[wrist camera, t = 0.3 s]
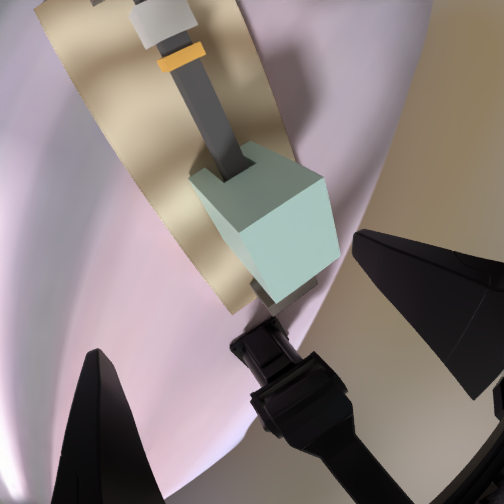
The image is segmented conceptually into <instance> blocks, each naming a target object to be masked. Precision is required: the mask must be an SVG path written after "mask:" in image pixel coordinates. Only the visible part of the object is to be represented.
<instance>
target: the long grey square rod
mask: <svg viewBox="0 0 504 504" xmlns="http://www.w3.org/2000/svg"><path fill="white" fill-rule="evenodd" d="M133 1H134V3H135V6H134V7H133V9H132V11H131V13H130V15H129V18H130V20H131V22H132V24H133V26H134V28H135V30H136V32H137V34H138V36H139V38H140V40H141V42H142V44H143V45H144V47H145V49H146V50H147V49H148V48H150V47H152V46H154V45H156V46H157V48H158V50H159V52H160V54H161V56H162V58H161V59H159V60H157V63H158V65H159V67H160V69H161V71H162V72H170V74H171V76H172V78H173V80H174V82H175V84H176V86H177V88H178V90H179V92H180V94H181V96H182V98H183V100H184V102H185V104H186V106H187V108H188V110H189V112H190V114H191V116H192V118H193V119H194V121H195V123H196V125H197V127H198V129H199V131H200V133H201V135H202V137H203V139H204V141H205V143H206V145H207V147H208V149H209V151H210V153H211V155H212V157H213V159H214V161H215V163H216V165H217V167H218V169H219V171H220V173H221V176H222V178H223V180H224V182H227V181H228V180H230V179H231V178H233V177H235V176H236V175H238V174H240V173H241V172H243V171H244V170H246V169H248V168H249V167H248V165H247V163H246V160H245V158H244V156H243V153H242V151H241V149H240V146H239V144H238V142H237V139H236V137H235V135H234V133H233V130H232V128H231V126H230V124H229V121H228V119H227V117H226V115H225V112H224V110H223V108H222V106H221V103H220V101H219V99H218V97H217V95H216V92H215V90H214V88H213V86H212V84H211V82H210V79H209V77H208V75H207V73H206V71H205V69H204V66H203V64H202V62H201V60H200V58H199V57H201V56H204V55H206V53H205V51H204V48H203V46H202V44H201V42H197V43H194V44H193V43H192V41H191V39H190V37H189V35H188V33H187V30H189V29H191V28H193V27H195V26H197V25H198V23H197V21H196V19H195V17H194V15H193V13H192V11H191V9H190V7H189V4H188V2H187V0H133Z"/></svg>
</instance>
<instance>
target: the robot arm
mask: <svg viewBox="0 0 504 504" xmlns="http://www.w3.org/2000/svg"><path fill="white" fill-rule="evenodd" d="M352 254H353V257H354V258H355V260H356V261H357V262H358V263H359V265H360V266H361V267H362V268H363V270H364V271H365V272H366V274H367V275H368V276H369V278H370V279H371V280H372V282H373V283H374V284H375V285H376V286H377V288H378V289H379V290H380V291H381V292H382V293H383V294H384V296H385V297H386V298H387V299H388V300H389V301H390V302H391V303H392V304H393V305H394V306H395V307H396V309H397V310H398V311H399V312H400V313H401V314H402V315H403V316H404V318H405V319H406V320H407V321H408V322H409V323H410V324H411V325H412V327H413V328H414V329H415V330H416V331H417V332H418V334H419V335H420V336H421V337H422V338H423V339H424V341H425V342H426V343H427V344H428V345H429V346H430V348H431V349H432V350H433V351H434V352H435V354H436V355H437V356H438V357H439V358H440V360H441V361H442V362H443V363H444V365H445V366H446V367H447V368H448V370H449V371H450V372H451V373H452V375H453V376H454V377H455V378H456V379H457V381H458V382H459V383H460V385H461V386H462V387H463V389H464V390H465V391H466V392H467V394H468V395H469V396H470V398H471V399H472V400H475V399H476V398H477V397H478V396H479V395H480V394H481V393H482V392H483V391H484V390H485V389H486V388H487V387H488V386H489V385H490V384H491V383H492V382H493V381H494V380H495V379H496V378H497V377H498V376H499V375H500V374H501V375H502V377H501V378H500V380H499V381H498V383H497V384H496V386H495V387H494V389H493V398H494V413H495V416H496V417H497V418H498V419H499V420H500V422H499V424H498V425H497V427H496V428H495V430H494V431H493V432H492V434H491V435H490V437H489V438H488V439H487V441H486V442H485V443H484V445H483V446H482V447H481V448H480V450H479V451H478V452H477V453H476V455H475V456H474V457H473V458H472V459H471V461H470V462H469V463H468V464H467V465H466V466H465V468H464V469H463V470H462V471H461V472H460V473H459V474H458V475H457V476H456V478H455V479H454V480H453V481H452V482H451V483H450V484H449V485H448V486H447V487H446V488H445V489H444V490H443V491H442V492H441V493H440V494H439V495H438V496H437V497H436V498H435V499H434V500H433V501H432V502H431V503H429V504H504V263H503V262H499V261H494V260H489V259H484V258H480V257H475V256H471V255H467V254H463V253H460V252H456V251H452V250H448V249H444V248H441V247H437V246H433V245H429V244H425V243H421V242H417V241H413V240H409V239H405V238H401V237H397V236H393V235H389V234H385V233H380V232H376V231H372V230H367V229H361V230H359V231H357V232H355V233H354V235H353V242H352ZM230 350H231V352H232V353H233V354H234V355H235V356H237V357H238V358H239V359H240V360H241V361H242V362H243V363H244V364H245V365H246V366H247V367H248V368H249V369H250V370H251V372H252V374H253V375H254V377H255V378H256V380H257V381H258V383H259V384H260V386H261V387H262V388H260V389H259V390H257V391H255V392H252V393H251V394H250V396H251V397H252V399H251V401H250V403H251V404H252V406H253V408H254V409H255V411H256V413H257V415H258V417H259V419H260V422H261V424H262V426H263V428H264V430H265V431H266V432H272V433H273V434H274V435H275V436H276V437H277V438H279V439H281V438H282V437H284V438H285V440H286V441H287V442H288V444H289V445H290V446H291V447H293V448H296V449H298V450H300V451H303V452H305V453H308V454H311V455H313V456H315V457H318V458H320V459H321V460H322V461H323V463H324V464H325V465H326V466H327V468H328V469H329V470H330V472H331V473H332V474H333V476H334V477H335V478H336V479H337V480H338V482H339V483H340V484H341V486H342V487H343V488H344V489H345V490H346V492H347V493H348V494H349V495H350V497H351V498H352V499H353V500H354V502H355V503H356V504H414V503H413V501H412V500H411V499H410V498H409V497H408V496H407V495H406V493H405V492H404V491H403V490H402V489H401V488H400V487H399V485H398V484H397V483H396V482H395V481H394V480H393V478H392V477H391V476H390V475H389V474H388V472H387V471H386V470H385V469H384V468H383V467H382V466H381V464H380V463H379V462H378V461H377V459H376V458H375V457H374V456H373V455H372V453H371V452H370V451H369V450H368V449H367V448H366V446H365V445H364V444H363V443H362V442H361V440H360V439H359V438H358V437H357V435H356V434H355V425H354V416H353V406H352V403H351V401H350V400H349V399H348V397H347V396H346V395H345V394H346V393H347V392H348V390H347V388H346V386H345V384H344V383H343V382H342V380H341V379H340V378H339V376H338V375H337V374H336V373H335V372H334V371H333V370H332V369H331V368H330V367H329V366H328V365H327V363H325V361H323V359H321V357H320V356H319V355H318V354H317V353H316V352H314V351H313V352H312V353H310V355H309V356H307V357H306V358H305V359H302V358H301V356H300V355H299V354H298V353H297V351H296V350H295V349H294V348H293V346H292V345H291V344H290V343H289V338H288V337H287V335H286V333H285V331H284V330H283V328H282V326H281V324H280V323H279V321H278V319H277V318H276V317H271V318H270V319H269V320H267V321H266V322H264V323H263V324H261V325H260V326H259V327H257V328H256V329H254V330H253V331H251V332H250V333H249V334H247V335H246V336H244V337H243V338H241V339H240V340H238V341H237V342H235V343H234V344H232V345H231V346H230ZM51 504H165V501H164V499H163V497H162V495H161V492H160V490H159V488H158V485H157V483H156V480H155V478H154V475H153V473H152V470H151V468H150V465H149V462H148V460H147V457H146V454H145V451H144V448H143V445H142V443H141V440H140V437H139V434H138V430H137V427H136V424H135V421H134V418H133V415H132V411H131V409H130V406H129V404H128V401H127V399H126V396H125V394H124V391H123V389H122V386H121V383H120V381H119V378H118V375H117V372H116V370H115V367H114V365H113V364H112V362H111V361H110V360H109V359H108V358H107V356H106V355H105V354H104V353H103V352H102V350H101V349H99V348H96V349H94V350H92V351H89V352H88V353H87V354H86V357H85V360H84V363H83V367H82V370H81V373H80V376H79V380H78V383H77V387H76V390H75V394H74V398H73V402H72V405H71V409H70V413H69V417H68V422H67V426H66V430H65V435H64V440H63V445H62V450H61V456H60V460H59V466H58V471H57V476H56V482H55V486H54V491H53V496H52V500H51Z"/></svg>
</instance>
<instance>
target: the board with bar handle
mask: <svg viewBox="0 0 504 504" xmlns="http://www.w3.org/2000/svg"><path fill="white" fill-rule="evenodd" d="M187 2H188V4H189V7H190V9H191V11H192V13H193V15H194V17H195V19H196V21H197V23H198V25H197V26H195V27H193V28H191V29H189V30H187V33H188V35H189V37H190V39H191V41H192V43H193V44H194V43H197V42H201V44H202V46H203V48H204V51H205V53H206V55H204V56H201V57H199V58H200V60H201V62H202V64H203V66H204V69H205V71H206V73H207V75H208V77H209V79H210V82H211V84H212V86H213V88H214V90H215V92H216V95H217V97H218V99H219V101H220V103H221V106H222V108H223V110H224V112H225V115H226V117H227V119H228V121H229V124H230V126H231V128H232V130H233V133H234V135H235V137H236V139H237V142H238V144H239V146H242V145H244V144H245V143H247V142H249V141H252V142H255V143H257V144H259V145H261V146H263V147H265V148H267V149H270V150H272V151H274V152H276V153H278V154H280V155H282V156H284V157H286V158H288V159H290V160H292V161H294V162H296V161H295V158H294V155H293V152H292V148H291V145H290V142H289V139H288V136H287V133H286V130H285V127H284V124H283V121H282V118H281V116H280V113H279V110H278V107H277V104H276V101H275V99H274V96H273V93H272V90H271V88H270V85H269V82H268V79H267V77H266V74H265V71H264V69H263V66H262V64H261V61H260V59H259V56H258V53H257V51H256V48H255V46H254V43H253V41H252V39H251V36H250V34H249V31H248V29H247V26H246V24H245V22H244V19H243V17H242V15H241V12H240V10H239V8H238V6H237V3H236V1H235V0H187ZM134 6H135V3H134V1H133V0H46V1H45V2H43V3H42V4H40V5H39V6H37V7H36V8H34V11H35V13H36V15H37V17H38V19H39V21H40V23H41V25H42V27H43V29H44V31H45V33H46V35H47V37H48V39H49V41H50V42H51V44H52V46H53V48H54V50H55V52H56V54H57V55H58V57H59V59H60V61H61V63H62V64H63V66H64V68H65V70H66V72H67V73H68V75H69V77H70V79H71V80H72V82H73V84H74V86H75V87H76V89H77V91H78V92H79V94H80V96H81V97H82V99H83V101H84V103H85V104H86V106H87V108H88V109H89V111H90V112H91V114H92V116H93V117H94V119H95V121H96V122H97V124H98V126H99V127H100V129H101V130H102V132H103V134H104V135H105V137H106V138H107V140H108V141H109V143H110V145H111V146H112V148H113V149H114V151H115V152H116V154H117V155H118V157H119V159H120V160H121V162H122V163H123V165H124V166H125V168H126V169H127V171H128V172H129V174H130V175H131V177H132V178H133V180H134V181H135V183H136V184H137V186H138V187H139V189H140V190H141V192H142V193H143V195H144V196H145V197H146V199H147V200H148V202H149V203H150V205H151V206H152V208H153V209H154V210H155V212H156V213H157V215H158V216H159V218H160V219H161V220H162V222H163V223H164V225H165V226H166V228H167V229H168V230H169V232H170V233H171V235H172V236H173V237H174V239H175V240H176V241H177V243H178V244H179V246H180V247H181V248H182V250H183V251H184V252H185V254H186V255H187V257H188V258H189V259H190V261H191V262H192V263H193V265H194V266H195V267H196V269H197V270H198V271H199V273H200V274H201V275H202V277H203V278H204V279H205V281H206V282H207V283H208V285H209V286H210V287H211V289H212V290H213V291H214V292H215V294H216V295H217V296H218V298H219V299H220V300H221V302H222V303H223V304H224V305H225V307H226V308H227V309H228V311H229V312H230V313H231V314H232V315H233V314H234V313H236V312H237V311H239V310H240V309H242V308H243V307H245V306H246V305H247V304H249V303H250V302H252V301H253V300H255V299H256V298H257V297H258V298H259V299H260V301H261V302H262V303H263V304H264V306H265V307H266V308H267V309H268V311H269V312H270V313H271V314H272V316H273V317H274V316H275V315H277V314H278V313H279V312H281V311H282V310H284V309H285V308H286V307H288V306H289V305H290V304H292V303H293V302H295V301H296V300H297V299H299V298H300V297H301V296H303V295H304V294H305V293H307V292H308V291H309V290H311V289H312V288H313V287H315V286H316V285H317V284H318V283H317V280H316V277H315V276H314V277H312V278H311V279H310V280H308V281H307V282H306V283H304V284H303V285H302V286H300V287H299V288H298V289H296V290H295V291H293V292H292V293H291V294H289V295H288V296H287V297H285V298H284V299H282V300H281V301H280V302H278V303H277V304H276V303H275V302H274V301H273V299H272V298H271V297H270V296H269V295H268V293H267V292H266V291H265V290H264V289H263V287H262V286H261V285H260V284H259V283H258V281H257V280H256V279H255V278H254V276H253V275H252V274H251V273H250V272H249V270H248V269H247V268H246V267H245V266H244V264H243V263H242V262H241V261H240V259H239V258H238V257H237V256H236V255H235V253H234V252H233V251H232V250H231V248H230V247H229V246H228V245H227V244H226V242H225V241H224V240H223V238H222V237H221V235H220V233H219V231H218V230H217V228H216V226H215V225H214V223H213V221H212V219H211V218H210V216H209V214H208V213H207V211H206V209H205V207H204V206H203V204H202V202H201V200H200V199H199V197H198V195H197V194H196V192H195V190H194V188H193V187H192V185H191V183H190V181H189V180H188V178H189V177H190V176H192V175H194V174H195V173H197V172H198V171H200V170H202V169H203V168H206V169H208V170H209V171H210V172H211V173H212V174H214V175H215V176H216V177H217V178H218V179H220V180H221V181H222V182H223V183H225V182H224V180H223V178H222V176H221V173H220V171H219V169H218V167H217V165H216V163H215V161H214V159H213V157H212V155H211V153H210V151H209V149H208V147H207V145H206V143H205V141H204V139H203V137H202V135H201V133H200V131H199V129H198V127H197V125H196V123H195V121H194V119H193V118H192V116H191V114H190V112H189V110H188V108H187V106H186V104H185V102H184V100H183V98H182V96H181V94H180V92H179V90H178V88H177V86H176V84H175V82H174V80H173V78H172V76H171V74H170V72H162V71H161V69H160V67H159V65H158V63H157V60H159V59H161V58H162V56H161V54H160V52H159V50H158V48H157V46H156V45H154V46H152V47H150V48H148V49H147V50H146V49H145V47H144V45H143V44H142V42H141V40H140V38H139V36H138V34H137V32H136V30H135V28H134V26H133V24H132V22H131V20H130V18H129V15H130V13H131V11H132V9H133V7H134Z"/></svg>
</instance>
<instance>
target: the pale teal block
mask: <svg viewBox="0 0 504 504" xmlns="http://www.w3.org/2000/svg"><path fill="white" fill-rule="evenodd" d="M240 149H241V151H242V153H243V156H244V158H245V160H246V163H247V165H248V167H249V168H248V169H246V170H244V171H243V172H241V173H240V174H238V175H236V176H235V177H233V178H231V179H230V180H228V181H227V182H225V183H223V182H222V181H221V180H220V179H218V178H217V177H216V176H215V175H214V174H212V173H211V172H210V171H209V170H208V169H206V168H203V169H202V170H200V171H198V172H197V173H195V174H194V175H192V176H190V177H189V178H188V180H189V181H190V183H191V185H192V187H193V188H194V190H195V192H196V194H197V195H198V197H199V199H200V200H201V202H202V204H203V206H204V207H205V209H206V211H207V213H208V214H209V216H210V218H211V219H212V221H213V223H214V225H215V226H216V228H217V230H218V231H219V233H220V235H221V237H222V238H223V240H224V241H225V242H226V244H227V245H228V246H229V247H230V248H231V250H232V251H233V252H234V253H235V255H236V256H237V257H238V258H239V259H240V261H241V262H242V263H243V264H244V266H245V267H246V268H247V269H248V270H249V272H250V273H251V274H252V275H253V276H254V278H255V279H256V280H257V281H258V283H259V284H260V285H261V286H262V287H263V289H264V290H265V291H266V292H267V293H268V295H269V296H270V297H271V298H272V299H273V301H274V302H275V303H276V304H277V303H278V302H280V301H281V300H282V299H284V298H285V297H287V296H288V295H289V294H291V293H292V292H293V291H295V290H296V289H298V288H299V287H300V286H302V285H303V284H304V283H306V282H307V281H308V280H310V279H311V278H312V277H314V276H315V275H316V274H318V273H319V272H320V271H322V270H323V269H324V268H326V267H327V266H328V265H330V264H331V263H332V262H333V261H335V260H336V259H337V258H339V257H340V256H341V255H340V249H339V244H338V239H337V234H336V229H335V224H334V219H333V214H332V210H331V205H330V201H329V196H328V192H327V187H326V183H325V179H324V177H323V176H321V175H319V174H317V173H316V172H314V171H312V170H310V169H308V168H306V167H304V166H302V165H300V164H298V163H296V162H294V161H292V160H290V159H288V158H286V157H284V156H282V155H280V154H278V153H276V152H274V151H272V150H270V149H267V148H265V147H263V146H261V145H259V144H257V143H255V142H252V141H249V142H247V143H245V144H244V145H242V146H240Z"/></svg>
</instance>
